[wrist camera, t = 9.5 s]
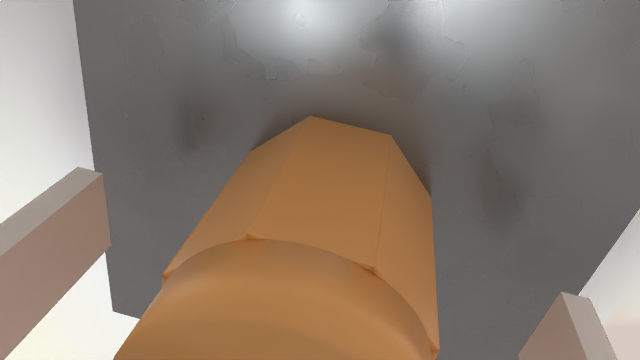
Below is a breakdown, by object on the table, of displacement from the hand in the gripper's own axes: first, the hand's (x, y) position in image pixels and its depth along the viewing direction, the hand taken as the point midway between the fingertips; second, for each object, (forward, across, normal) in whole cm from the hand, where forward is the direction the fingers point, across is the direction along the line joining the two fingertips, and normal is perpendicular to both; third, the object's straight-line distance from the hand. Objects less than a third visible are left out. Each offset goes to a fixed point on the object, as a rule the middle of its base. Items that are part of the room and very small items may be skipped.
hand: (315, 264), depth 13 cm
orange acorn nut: (+3, 0, 0) cm, 3 cm away
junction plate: (+5, 0, 0) cm, 5 cm away
